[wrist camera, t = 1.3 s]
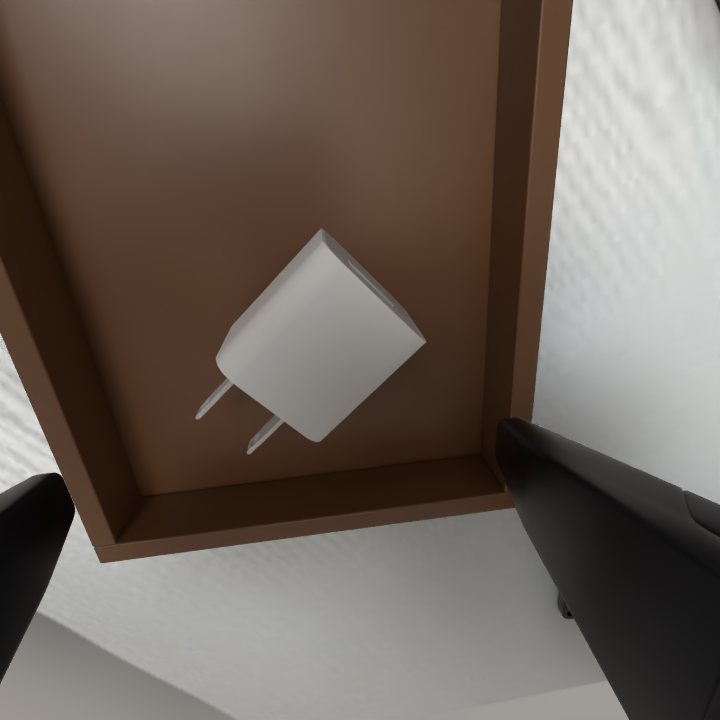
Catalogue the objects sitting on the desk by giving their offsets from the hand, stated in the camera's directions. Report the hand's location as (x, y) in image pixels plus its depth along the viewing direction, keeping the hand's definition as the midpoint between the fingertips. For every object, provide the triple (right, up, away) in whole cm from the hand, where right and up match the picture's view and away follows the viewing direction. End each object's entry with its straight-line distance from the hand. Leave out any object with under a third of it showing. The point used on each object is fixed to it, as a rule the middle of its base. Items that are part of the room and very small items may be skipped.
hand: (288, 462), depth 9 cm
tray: (-1, +6, +6) cm, 8 cm away
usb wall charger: (-1, +3, +7) cm, 7 cm away
